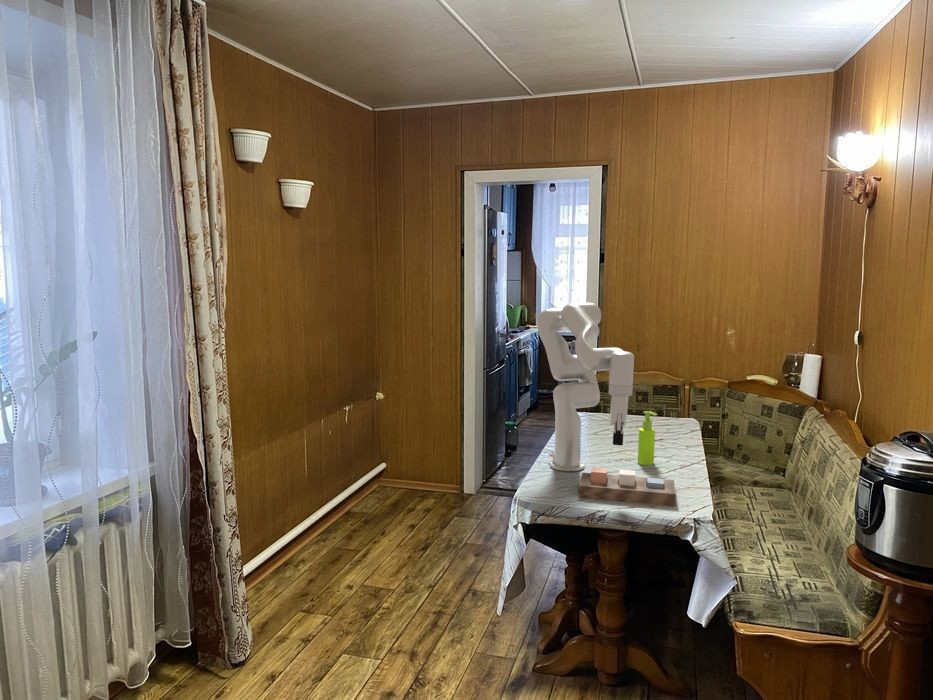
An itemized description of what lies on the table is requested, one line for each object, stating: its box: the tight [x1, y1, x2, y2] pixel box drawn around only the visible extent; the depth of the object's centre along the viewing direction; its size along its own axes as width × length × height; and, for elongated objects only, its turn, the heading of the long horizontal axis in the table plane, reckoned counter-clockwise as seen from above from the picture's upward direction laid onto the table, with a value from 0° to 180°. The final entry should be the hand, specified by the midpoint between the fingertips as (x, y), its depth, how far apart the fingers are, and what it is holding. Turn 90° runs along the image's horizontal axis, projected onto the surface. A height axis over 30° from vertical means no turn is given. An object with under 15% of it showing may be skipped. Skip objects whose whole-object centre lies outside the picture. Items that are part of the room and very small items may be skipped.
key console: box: [577, 472, 677, 507], centre depth 219 cm, size 30×14×4 cm, turn 75°
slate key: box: [646, 477, 664, 489], centre depth 216 cm, size 5×5×4 cm
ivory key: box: [618, 469, 636, 486], centre depth 218 cm, size 5×5×4 cm
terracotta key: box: [590, 466, 608, 484], centre depth 221 cm, size 5×5×4 cm
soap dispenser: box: [637, 410, 658, 466], centre depth 252 cm, size 6×7×20 cm
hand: (617, 444), depth 218 cm, fingers closed
